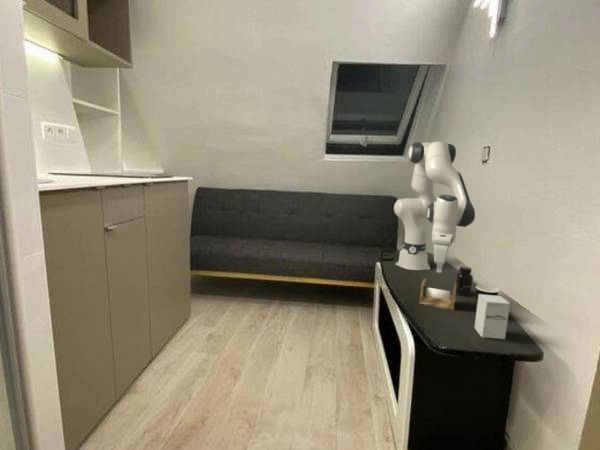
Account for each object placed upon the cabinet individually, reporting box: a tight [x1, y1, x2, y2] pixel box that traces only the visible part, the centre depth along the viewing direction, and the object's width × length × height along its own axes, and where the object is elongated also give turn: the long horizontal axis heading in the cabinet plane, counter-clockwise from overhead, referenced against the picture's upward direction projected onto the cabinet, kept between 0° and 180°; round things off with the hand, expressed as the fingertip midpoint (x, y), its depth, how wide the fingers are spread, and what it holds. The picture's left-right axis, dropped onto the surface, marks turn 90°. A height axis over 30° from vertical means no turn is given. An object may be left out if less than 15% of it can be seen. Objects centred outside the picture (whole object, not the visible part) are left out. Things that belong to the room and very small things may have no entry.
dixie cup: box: [475, 284, 500, 312], centre depth 130 cm, size 8×8×11 cm
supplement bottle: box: [454, 266, 474, 297], centre depth 153 cm, size 7×7×12 cm
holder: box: [418, 278, 457, 311], centre depth 141 cm, size 13×10×8 cm
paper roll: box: [425, 286, 451, 301], centre depth 141 cm, size 9×5×5 cm, turn 64°
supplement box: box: [474, 294, 511, 340], centre depth 115 cm, size 7×7×13 cm
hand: (439, 269), depth 140 cm, fingers open, 8 cm apart
